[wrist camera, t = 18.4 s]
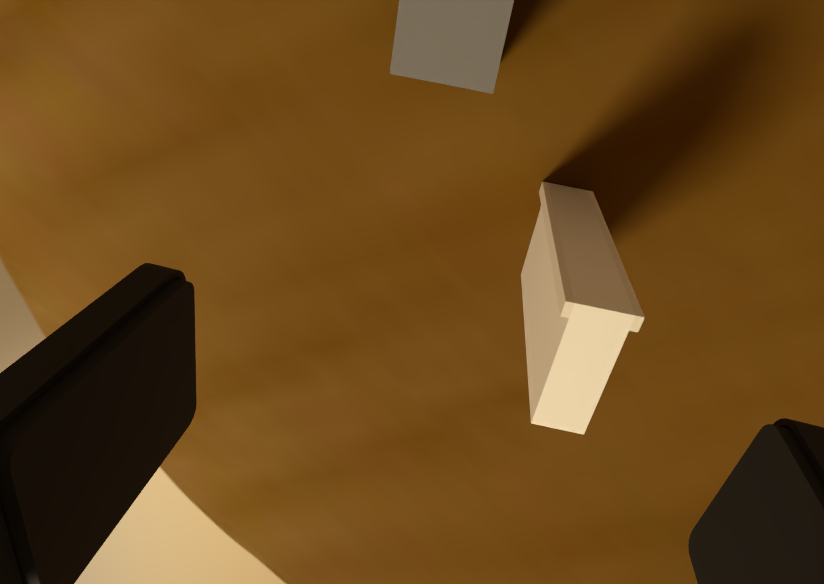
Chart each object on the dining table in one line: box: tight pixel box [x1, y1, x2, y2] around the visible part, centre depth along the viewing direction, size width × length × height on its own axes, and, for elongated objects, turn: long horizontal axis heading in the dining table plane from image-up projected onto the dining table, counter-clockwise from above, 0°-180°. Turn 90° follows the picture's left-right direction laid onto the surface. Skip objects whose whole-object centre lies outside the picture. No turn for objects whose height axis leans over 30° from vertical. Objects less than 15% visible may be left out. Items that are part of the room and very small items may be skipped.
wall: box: [521, 181, 645, 434], centre depth 20 cm, size 3×24×12 cm, turn 171°
